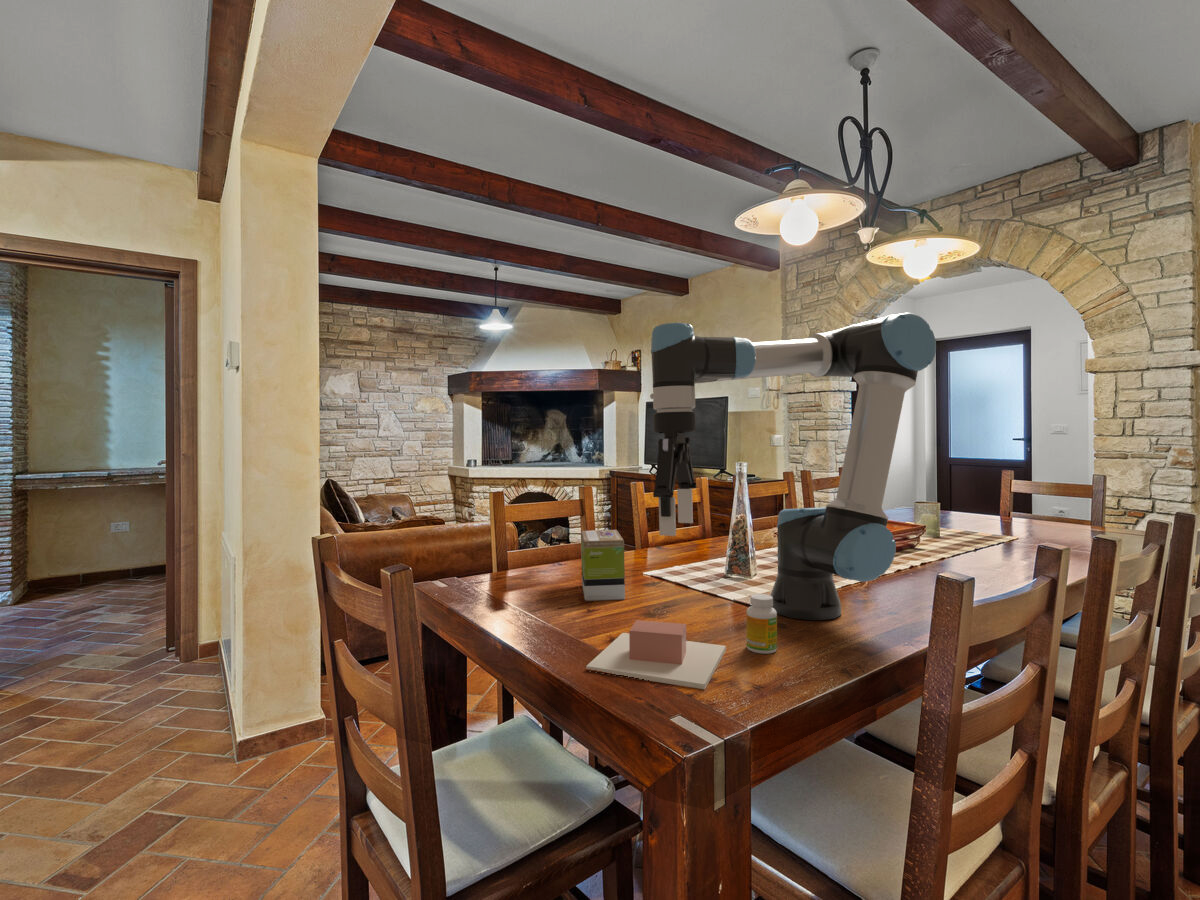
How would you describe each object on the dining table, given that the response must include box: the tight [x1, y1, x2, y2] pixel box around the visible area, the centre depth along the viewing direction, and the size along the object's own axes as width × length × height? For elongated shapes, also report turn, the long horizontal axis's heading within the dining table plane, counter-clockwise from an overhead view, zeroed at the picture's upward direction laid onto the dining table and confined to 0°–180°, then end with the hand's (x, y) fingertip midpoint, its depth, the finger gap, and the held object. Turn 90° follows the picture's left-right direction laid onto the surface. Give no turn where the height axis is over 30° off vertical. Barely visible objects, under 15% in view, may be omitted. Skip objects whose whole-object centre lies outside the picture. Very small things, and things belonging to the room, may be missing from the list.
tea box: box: [580, 529, 626, 602], centre depth 149 cm, size 15×10×15 cm
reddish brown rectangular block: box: [628, 619, 687, 665], centre depth 104 cm, size 6×9×5 cm, turn 75°
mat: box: [586, 632, 727, 690], centre depth 104 cm, size 20×18×1 cm
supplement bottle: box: [746, 593, 778, 655], centre depth 109 cm, size 5×5×10 cm
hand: (677, 528), depth 107 cm, fingers open, 13 cm apart
